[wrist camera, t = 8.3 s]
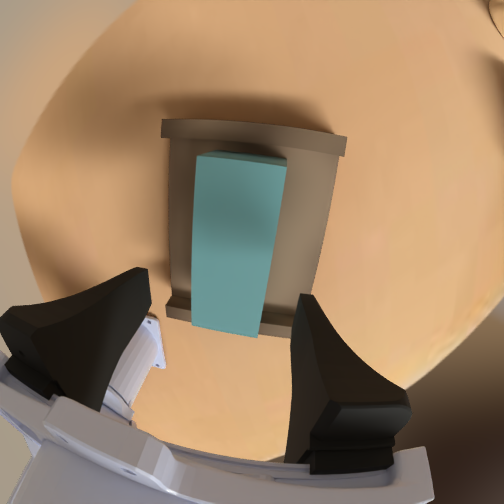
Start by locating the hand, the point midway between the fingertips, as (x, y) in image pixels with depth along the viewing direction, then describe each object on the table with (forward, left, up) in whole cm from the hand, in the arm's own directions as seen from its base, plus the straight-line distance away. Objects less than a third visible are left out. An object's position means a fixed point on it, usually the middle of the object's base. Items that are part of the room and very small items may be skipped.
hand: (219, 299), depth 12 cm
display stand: (0, 0, -9) cm, 9 cm away
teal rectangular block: (0, 0, -7) cm, 7 cm away
